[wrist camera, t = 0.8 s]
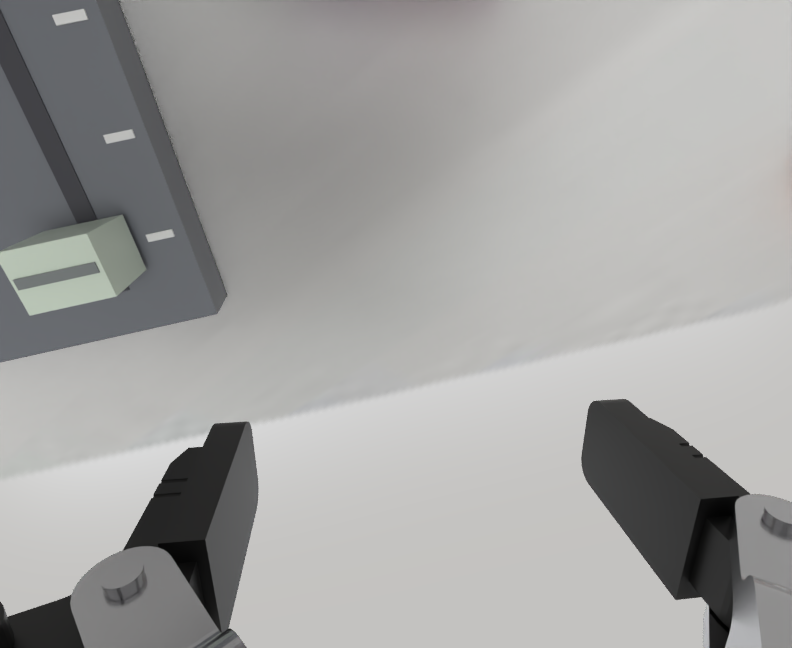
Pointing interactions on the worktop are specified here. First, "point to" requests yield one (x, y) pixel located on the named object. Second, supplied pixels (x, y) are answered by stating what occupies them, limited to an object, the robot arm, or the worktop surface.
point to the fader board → (92, 172)
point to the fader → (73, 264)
